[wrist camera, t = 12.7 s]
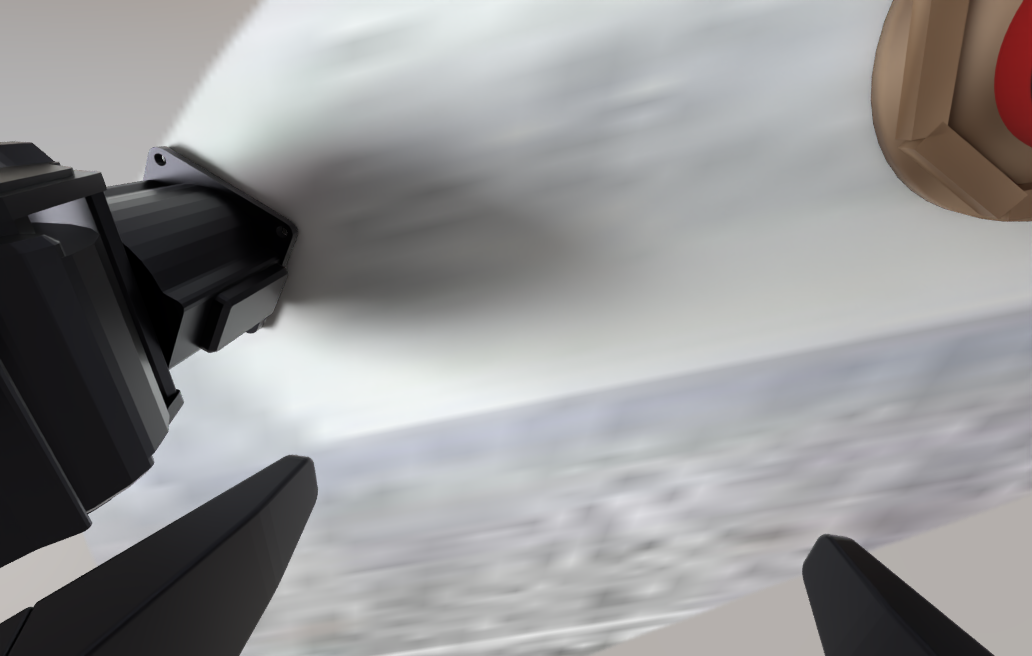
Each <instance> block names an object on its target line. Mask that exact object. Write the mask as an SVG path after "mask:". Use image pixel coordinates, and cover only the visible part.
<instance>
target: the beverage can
mask: <svg viewBox="0 0 1032 656" xmlns="http://www.w3.org/2000/svg"><path fill="white" fill-rule="evenodd" d="M994 93H995V100H996V105H997V109H998V112H999V115H1000V117H1001V119H1002V121H1003V123H1004V124H1005V126H1006V127H1007V129H1008V130H1009V131H1010V132H1011V133H1012V134H1013V135H1014V136H1015V137H1016V138H1017V139H1018V140H1020V141H1021V142H1023V143H1024V144H1026V145H1028V146H1030V147H1032V0H1023V2H1022V3H1021V5H1020V6H1019V8H1018V10H1017V11H1016V13H1015V15H1014V17H1013V19H1012V21H1011V23H1010V25H1009V27H1008V29H1007V32H1006V34H1005V36H1004V39H1003V42H1002V45H1001V47H1000V51H999V55H998V58H997V63H996V68H995V77H994Z"/></svg>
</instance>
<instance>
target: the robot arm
mask: <svg viewBox="0 0 1032 656" xmlns="http://www.w3.org/2000/svg"><path fill="white" fill-rule="evenodd" d="M162 155H163V156H164V157H165V159H166V163H165V162H164V161H163V159H162ZM281 227H284V228H285V229H286V231H287V235H285V234H284V233H283V232H282V230H281ZM297 234H298V231H297V227H296V226H295V224H294V223H293V222H291V221H290V220H289V219H287V218H285V217H284V216H282V215H280V214H279V213H277V212H275V211H274V210H272V209H270V208H269V207H267V206H265V205H264V204H262V203H260V202H259V201H257V200H255V199H254V198H252V197H250V196H249V195H247V194H245V193H244V192H242V191H240V190H239V189H237V188H235V187H234V186H232V185H230V184H229V183H227V182H225V181H224V180H222V179H220V178H219V177H217V176H215V175H214V174H212V173H210V172H209V171H207V170H205V169H204V168H202V167H200V166H199V165H197V164H196V163H194V162H192V161H191V160H189V159H187V158H186V157H184V156H182V155H181V154H179V153H177V152H176V151H174V150H172V149H171V148H168V147H166V146H161V147H153V148H151V149H150V151H149V153H148V158H147V163H146V168H145V173H144V178H143V181H139V182H133V183H127V184H121V185H115V186H110V187H106V185H105V182H104V179H103V177H102V174H101V172H98V171H82V170H73V168H72V167H66V166H61V165H60V163H59V162H55V161H53V160H52V159H51V158H50V157H48V156H47V155H46V154H45V153H44V152H43V151H41V150H40V149H39V148H38V147H37V146H35V145H34V144H33V143H30V142H0V568H1V567H3V566H5V565H7V564H9V563H11V562H13V561H15V560H17V559H19V558H21V557H23V556H25V555H27V554H29V553H31V552H33V551H35V550H37V549H40V548H42V547H45V546H47V545H50V544H53V543H56V542H58V541H61V540H64V539H66V538H69V537H71V536H74V535H77V534H79V533H82V532H84V531H86V530H87V529H89V528H90V526H91V525H92V521H91V520H90V518H89V516H88V514H89V513H91V512H92V511H94V510H96V509H97V508H99V507H100V506H102V505H103V504H105V503H106V502H108V501H110V500H111V499H112V498H113V497H115V496H116V495H118V494H119V493H121V492H122V491H124V490H126V489H127V488H129V487H130V486H131V485H132V484H134V483H135V482H136V481H137V480H138V479H139V478H140V477H142V476H143V475H144V474H145V473H146V472H147V471H148V470H149V469H150V468H151V467H152V466H153V464H154V459H153V456H152V455H153V454H154V452H155V451H156V450H157V448H158V447H159V445H160V444H161V442H162V441H163V439H164V438H165V436H166V435H167V433H168V430H169V424H170V423H171V421H172V420H173V418H174V417H175V415H176V414H177V413H178V411H179V410H180V408H181V407H182V405H183V404H184V401H183V398H182V395H181V392H180V390H178V389H176V388H175V385H174V382H173V380H172V377H171V374H170V371H169V370H170V369H171V368H173V367H174V366H176V365H177V364H179V363H180V362H182V361H183V360H185V359H186V358H188V357H189V356H191V355H193V354H194V353H196V352H197V351H199V350H200V349H203V350H204V351H206V352H208V353H212V352H217V351H219V350H220V349H222V348H223V347H224V346H226V345H227V344H229V343H230V342H232V341H233V340H235V339H236V338H237V337H239V336H240V335H242V334H243V333H245V332H247V333H255V332H256V331H258V330H259V329H260V328H261V327H262V325H263V323H264V320H265V318H266V317H268V316H269V315H271V314H272V313H273V312H274V309H275V307H276V304H277V301H278V299H279V296H280V294H281V291H282V289H283V286H284V284H285V281H286V279H287V276H288V272H287V268H286V267H285V266H286V264H287V261H288V258H289V256H290V253H291V251H292V248H293V246H294V243H295V240H296V238H297ZM317 495H318V486H317V480H316V473H315V467H314V462H313V460H312V459H311V458H309V457H305V456H298V455H288V456H285V457H283V458H281V459H280V460H278V461H276V462H275V463H273V464H271V465H270V466H268V467H266V468H264V469H263V470H261V471H259V472H258V473H256V474H254V475H253V476H251V477H249V478H247V479H246V480H244V481H242V482H241V483H239V484H237V485H235V486H234V487H232V488H230V489H229V490H227V491H225V492H224V493H222V494H220V495H218V496H217V497H215V498H213V499H212V500H210V501H208V502H207V503H205V504H203V505H201V506H200V507H198V508H196V509H195V510H193V511H191V512H190V513H188V514H186V515H184V516H183V517H181V518H179V519H178V520H176V521H174V522H173V523H171V524H169V525H167V526H166V527H164V528H162V529H161V530H159V531H157V532H155V533H154V534H152V535H150V536H149V537H147V538H145V539H144V540H142V541H140V542H138V543H137V544H135V545H133V546H132V547H130V548H128V549H127V550H125V551H123V552H121V553H120V554H118V555H116V556H115V557H113V558H111V559H110V560H108V561H106V562H104V563H103V564H101V565H99V566H98V567H96V568H94V569H93V570H91V571H89V572H88V573H86V574H84V575H82V576H81V577H79V578H77V579H76V580H74V581H72V582H70V583H69V584H67V585H65V586H64V587H62V588H60V589H58V590H57V591H55V592H53V593H52V594H50V595H48V596H47V597H45V598H43V599H41V600H40V601H38V602H37V603H36V604H35V605H34V607H28V608H26V609H24V610H22V611H21V612H19V613H17V614H16V615H14V616H12V617H11V618H9V619H7V620H5V621H4V622H2V623H1V624H0V656H239V655H240V653H241V652H242V650H243V648H244V646H245V645H246V643H247V641H248V639H249V637H250V636H251V634H252V632H253V630H254V629H255V627H256V625H257V623H258V622H259V620H260V618H261V616H262V614H263V613H264V611H265V609H266V607H267V606H268V604H269V602H270V600H271V598H272V596H273V595H274V593H275V591H276V589H277V587H278V585H279V583H280V581H281V579H282V577H283V575H284V572H285V570H286V568H287V566H288V563H289V561H290V559H291V557H292V554H293V552H294V550H295V548H296V545H297V543H298V541H299V539H300V536H301V534H302V532H303V530H304V527H305V525H306V523H307V521H308V518H309V516H310V514H311V512H312V510H313V507H314V505H315V503H316V499H317ZM802 575H803V580H804V584H805V587H806V590H807V594H808V598H809V601H810V605H811V608H812V612H813V615H814V618H815V622H816V626H817V629H818V633H819V636H820V640H821V643H822V646H823V650H824V653H825V656H994V655H993V654H992V653H991V652H989V651H988V650H987V649H986V648H985V647H983V646H982V645H981V644H980V643H978V642H977V641H976V640H975V639H974V638H972V637H971V636H970V635H969V634H968V633H966V632H965V631H964V630H963V629H961V628H960V627H959V626H958V625H957V624H955V623H954V622H953V621H952V620H950V619H949V618H948V617H947V616H946V615H944V614H943V613H942V612H941V611H939V610H938V609H937V608H936V607H935V606H933V605H932V604H931V603H930V602H928V601H927V600H926V599H925V598H924V597H922V596H921V595H920V594H919V593H917V592H916V591H915V590H914V589H913V588H911V587H910V586H909V585H908V584H906V583H905V582H904V581H903V580H902V579H900V578H899V577H898V576H897V575H895V574H894V573H893V572H892V571H891V570H889V569H888V568H887V567H886V566H885V565H883V564H882V563H881V562H880V561H878V560H877V559H876V558H875V557H874V556H872V555H871V554H870V553H869V552H867V551H866V550H865V549H864V548H863V547H861V546H860V545H859V544H858V543H856V542H855V541H854V540H852V539H850V538H848V537H844V536H837V535H831V534H823V535H822V536H820V537H819V538H818V539H817V541H816V543H815V545H814V546H813V548H812V550H811V551H810V553H809V555H808V556H807V558H806V560H805V561H804V563H803V568H802Z"/></svg>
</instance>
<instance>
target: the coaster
mask: <svg viewBox="0 0 1032 656" xmlns="http://www.w3.org/2000/svg"><path fill="white" fill-rule="evenodd" d="M1022 2H1023V0H893V2H892V4H891V7H890V9H889V12H888V14H887V17H886V19H885V22H884V25H883V28H882V32H881V35H880V39H879V42H878V46H877V49H876V55H875V61H874V67H873V73H872V88H871V106H872V116H873V124H874V128H875V132H876V135H877V139H878V143H879V146H880V148H881V150H882V152H883V154H884V156H885V159H886V161H887V163H888V164H889V165H890V167H891V168H892V170H893V171H894V172H895V174H896V175H897V177H898V178H899V179H900V180H901V181H902V182H903V183H904V184H905V185H906V186H907V187H908V188H909V189H910V190H911V191H913V192H914V193H916V194H917V195H919V196H920V197H922V198H923V199H925V200H926V201H928V202H931V203H933V204H935V205H937V206H939V207H942V208H944V209H947V210H951V211H955V212H958V213H962V214H966V215H970V216H973V217H977V218H981V219H988V220H996V221H1007V222H1009V221H1032V147H1030V146H1028V145H1026V144H1024V143H1023V142H1021V141H1020V140H1018V139H1017V138H1016V137H1015V136H1014V135H1013V134H1012V133H1011V132H1010V131H1009V130H1008V129H1007V127H1006V126H1005V124H1004V123H1003V121H1002V119H1001V117H1000V115H999V112H998V109H997V105H996V100H995V93H994V77H995V68H996V63H997V58H998V55H999V51H1000V47H1001V45H1002V42H1003V39H1004V36H1005V34H1006V32H1007V29H1008V27H1009V25H1010V23H1011V21H1012V19H1013V17H1014V15H1015V13H1016V11H1017V10H1018V8H1019V6H1020V5H1021V3H1022Z"/></svg>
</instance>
